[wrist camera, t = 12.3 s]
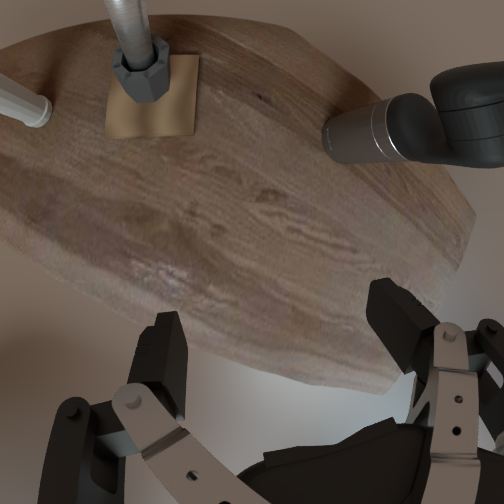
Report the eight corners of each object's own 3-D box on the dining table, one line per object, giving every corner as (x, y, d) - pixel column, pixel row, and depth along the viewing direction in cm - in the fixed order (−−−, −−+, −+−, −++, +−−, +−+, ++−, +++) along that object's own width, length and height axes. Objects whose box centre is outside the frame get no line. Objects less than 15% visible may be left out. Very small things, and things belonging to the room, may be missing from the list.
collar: (172, 63, 30) (171, 33, 22) (168, 101, 32) (165, 78, 23) (129, 65, 29) (117, 36, 20) (124, 104, 30) (108, 82, 22)
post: (198, 58, 36) (240, -91, 6) (193, 135, 39) (225, 24, 9) (116, 62, 33) (56, -69, 3) (106, 139, 36) (-20, 69, 6)
